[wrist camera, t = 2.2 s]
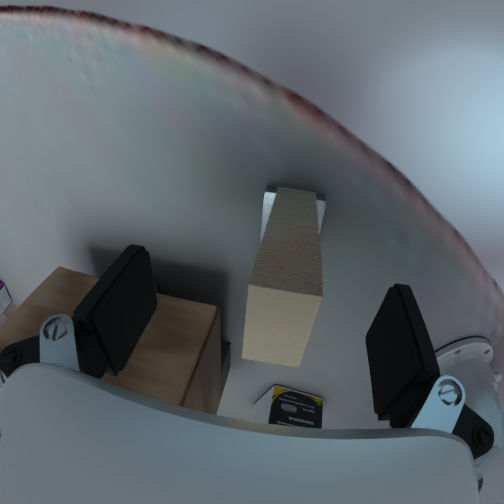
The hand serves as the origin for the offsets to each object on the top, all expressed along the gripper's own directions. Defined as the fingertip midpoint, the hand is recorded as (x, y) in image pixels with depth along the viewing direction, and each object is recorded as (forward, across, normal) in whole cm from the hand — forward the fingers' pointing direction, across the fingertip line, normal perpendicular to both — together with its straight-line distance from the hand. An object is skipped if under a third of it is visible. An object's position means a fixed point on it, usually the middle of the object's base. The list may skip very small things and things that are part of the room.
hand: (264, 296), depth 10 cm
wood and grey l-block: (+10, -1, +7) cm, 13 cm away
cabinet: (+10, +11, +15) cm, 21 cm away
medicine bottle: (+10, -5, +28) cm, 30 cm away
